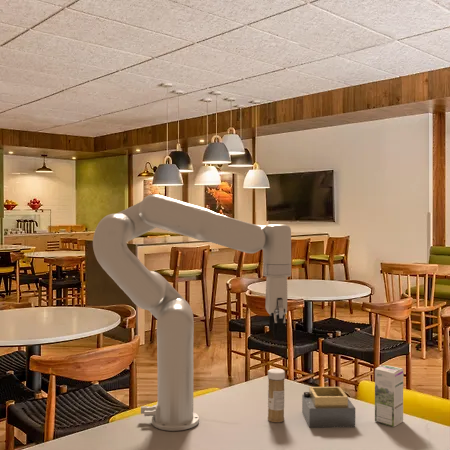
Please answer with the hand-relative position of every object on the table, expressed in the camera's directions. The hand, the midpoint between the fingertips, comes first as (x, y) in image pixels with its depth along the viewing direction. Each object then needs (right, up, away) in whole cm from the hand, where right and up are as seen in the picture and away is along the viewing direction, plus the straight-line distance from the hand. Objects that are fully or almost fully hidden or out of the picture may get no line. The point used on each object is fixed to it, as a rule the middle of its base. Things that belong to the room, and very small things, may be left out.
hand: (277, 333), depth 147 cm
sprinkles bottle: (0, -24, +1) cm, 24 cm away
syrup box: (+30, -24, -1) cm, 38 cm away
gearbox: (+14, -23, +1) cm, 27 cm away
